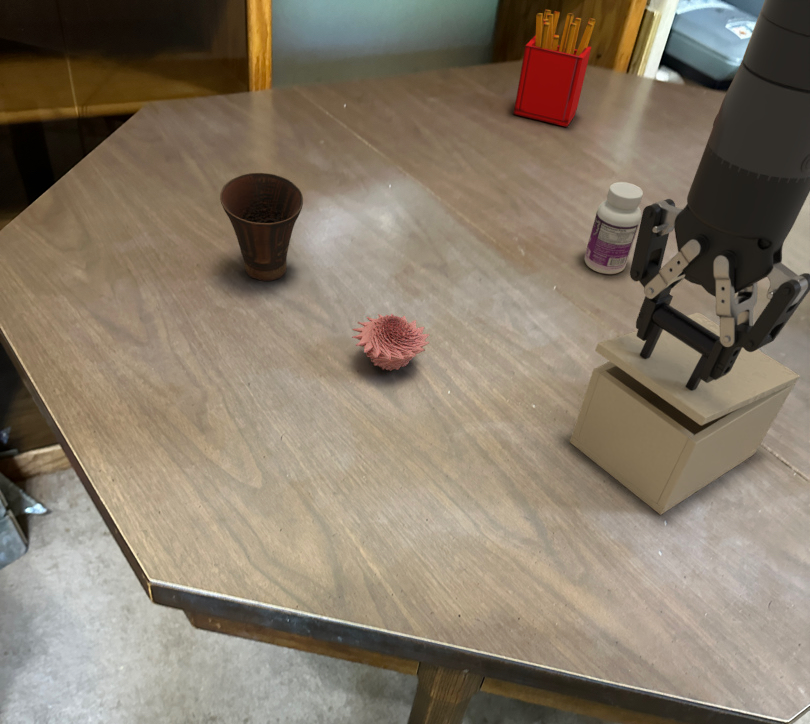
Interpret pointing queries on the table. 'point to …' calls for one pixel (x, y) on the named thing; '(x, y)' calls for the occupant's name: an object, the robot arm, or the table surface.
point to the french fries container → (553, 70)
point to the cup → (262, 220)
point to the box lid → (693, 366)
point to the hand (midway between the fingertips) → (677, 355)
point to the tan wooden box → (664, 437)
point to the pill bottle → (614, 229)
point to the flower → (391, 341)
